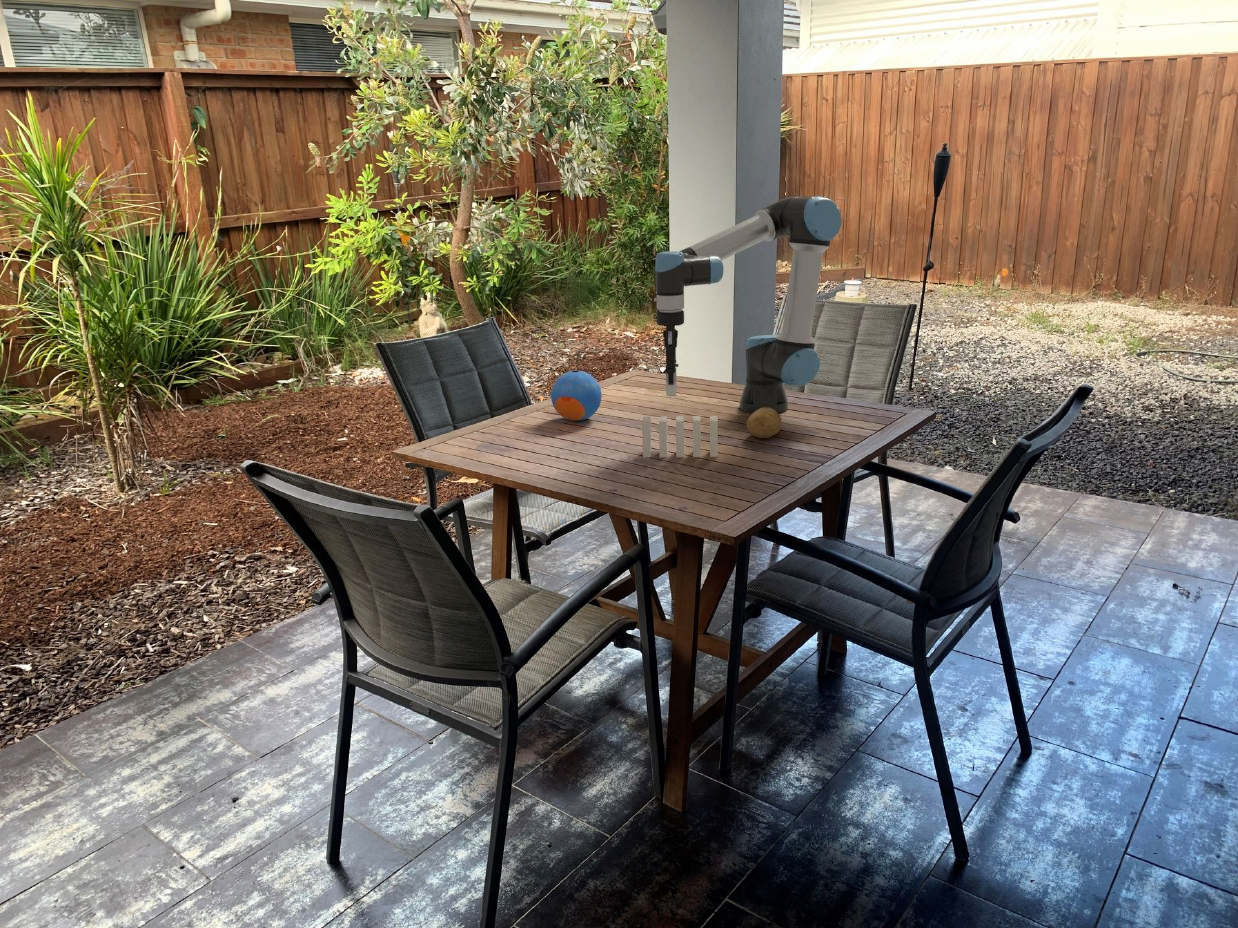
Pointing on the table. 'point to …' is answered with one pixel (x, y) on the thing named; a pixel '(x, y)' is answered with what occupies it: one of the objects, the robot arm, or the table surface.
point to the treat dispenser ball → (576, 395)
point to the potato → (764, 423)
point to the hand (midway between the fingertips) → (671, 392)
